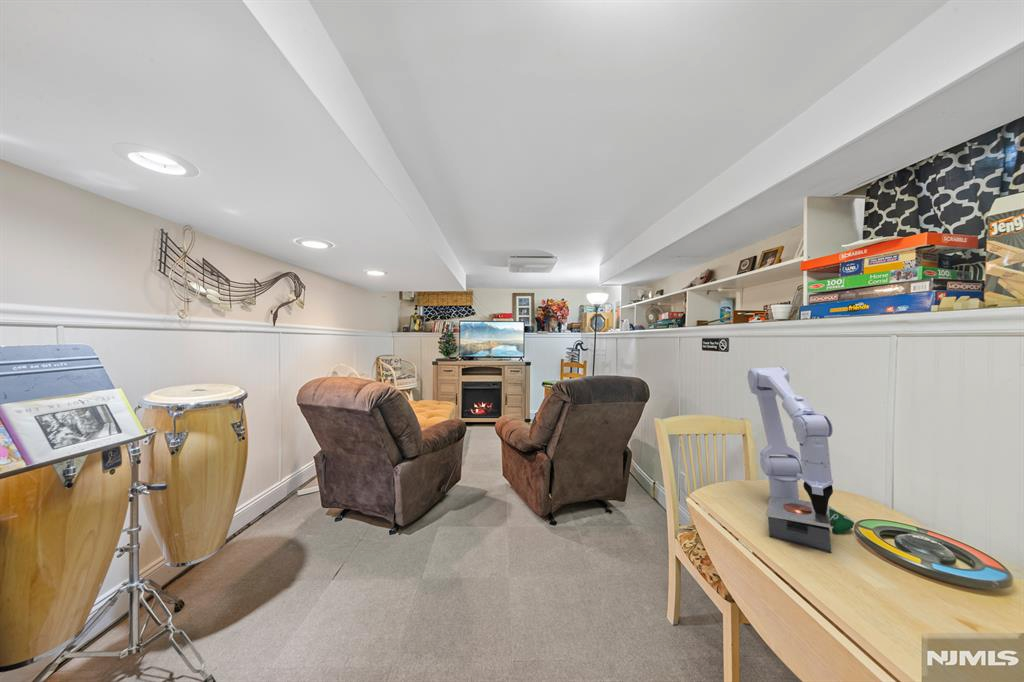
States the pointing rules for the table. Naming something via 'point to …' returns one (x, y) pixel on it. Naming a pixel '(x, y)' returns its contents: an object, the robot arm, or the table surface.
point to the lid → (796, 511)
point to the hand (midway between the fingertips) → (820, 512)
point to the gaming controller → (840, 521)
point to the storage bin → (800, 533)
